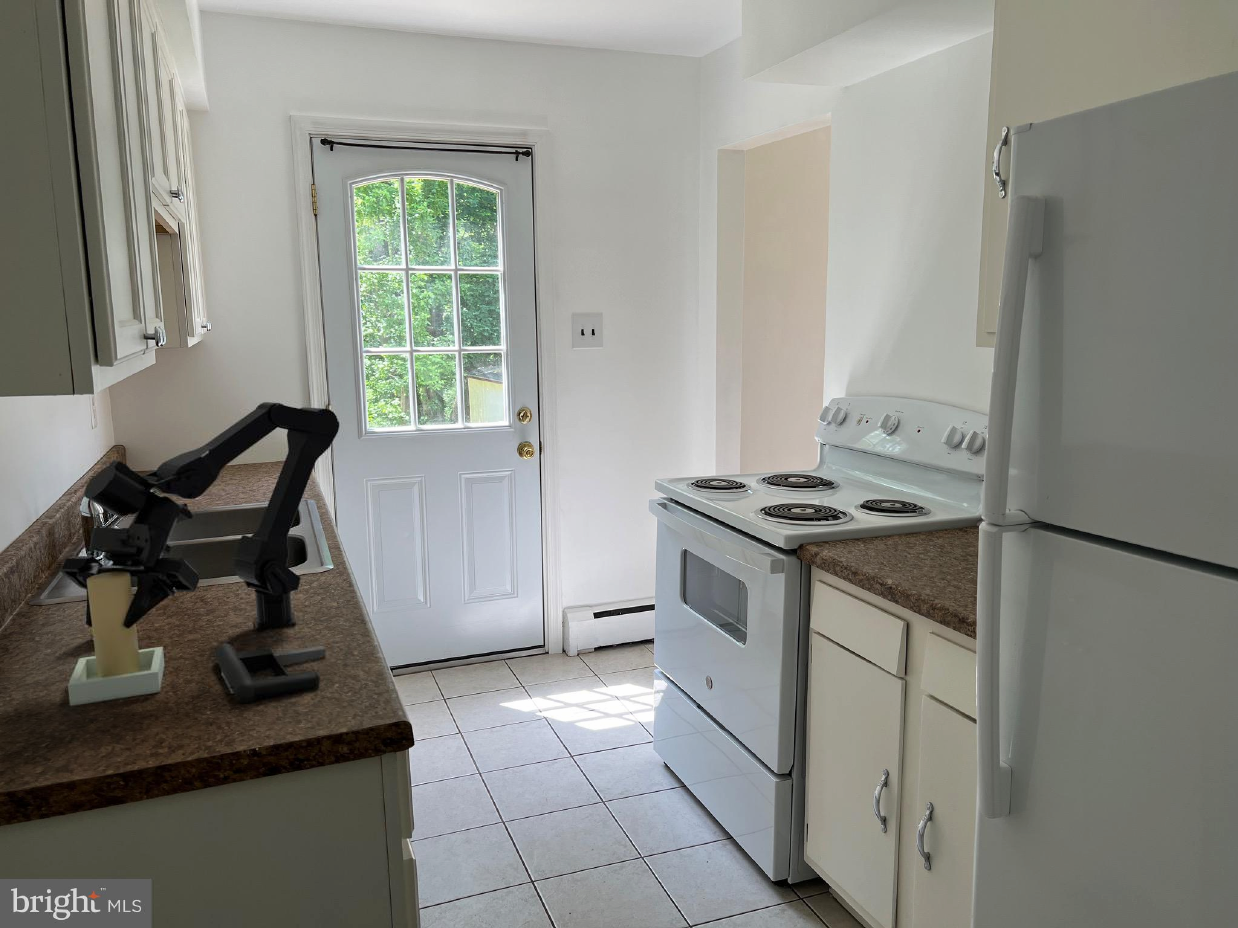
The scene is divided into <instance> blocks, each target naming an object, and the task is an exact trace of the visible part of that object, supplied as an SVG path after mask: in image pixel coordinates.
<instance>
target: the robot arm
mask: <svg viewBox="0 0 1238 928" xmlns="http://www.w3.org/2000/svg"><path fill="white" fill-rule="evenodd" d="M277 428H278V429H281V430H282V429H284V430H285V431H286V430H287V432H286V440H287V454H286V458H285V460H284V463H283V465H282V467H281V469H280V473H279V475H278V477H277V481H276V483H275V486H274V488H273V491H272V494H271V496H270V498H269V500H268V503H267V507H266V509H265V511H264V514H263V517H262V519H261V522H260V524H259V526H258V528H257V530H256V531H255V532H254V533H252V534H251V536H250V535H245V534H243V535H241V537H240V539H239V543H238V547H237V549H236V551H235V553H234V554H233V555H232V558H234V559H235V560H234V563H233V569H234V571H235V574H236V575H237V576H238V578H239V579H240V580H243V583H244V585H245V586H246V587H245V588H248V589H252V590H254V599H255V608H256V609H255V610H256V617H254V618H253V619H254V628H255V629H254V630H255V631H263V630H264V631H265V630H271V629H277V628H284V627H291V626H292V627H294V626H296V625H297V622H296V618H295V613H294V612H293V610H292V597H291V593H292V592H293V591H297V590H299V587H300V583H301V579H302V578H301V577H300V575H298V574H296V572H294V571H292V570H291V569H290V568H288V567H287V565H288V560H289V556H290V552H289V543H288V536H289V534H290V531H291V528H292V525H293V523H294V520H295V518H296V515H297V513H298V510H299V507H300V504H301V502H302V498H303V496H304V494H305V491H306V490H307V486H308V483H309V481H310V477H311V475H312V472H313V470H314V467H315V464H316V462H317V461H318V460H319V458H320V457H321V456H322V455H323V454H325V452H327V450H328V449H329V448H330V447H331V446H332V443H333V441H334V440H335V439H336V437H337V435H338V433H339V430H340V421H339V419H338V417H337V415H336V414H335V412H334V411H332V410H331V409H329V408H321V407H309V406H308V407H307V406H304V407H303V406H302V407H300V408H298V407H292V406H288V405H285V404H284V403H280V402H270V401H269V402H268V401H264V402H261V403H260V404H258V405H257V407H255V408H254V409H253V410H252V411H251V412H249V413H248V414H246V415H245V416H244V417H242V418H241V419H240V420H238V421H237V422H235V423H234V424H232V425H231V426H230V427H228V428H227V429H225V430H224V431H223V432H221V433H220V434H218V435H216V437H214V438H212V439H211V440H210V441H208V442H207V443H206V444H204V445H202V446H200V447H198V448H196V449H193V450H190V451H187V452H183V453H180V454H178V455H175V456H174V457H171V458H169V459H167V460H166V461H164V462H163V463H161V464H160V465H159V466H158V467H157V468H156V470H154V471H151V472H148V473H145V474H142V475H140V474H139V473H137V472H136V471H135V470H132V469H131V468H130V467H129V466H128V465H127V464H125V463H124V462H122V461H121V460H115V459H113V460H112V461H111V462H110V463H109V465H108V466H105V467H104V468H102V469H101V470H100V471H99V472H97V473H96V474H95V475H92V477H91V478H90V480H89V481H88V482H87V484H86V486H85V489H84V497H85V498H86V499H88V500H89V501H91V502H93V503H95V504H96V505H98V506H99V507H102V508H103V509H104V510H106V511H108V512H110V513H112V514H113V515H115V516H116V517H119V518H124V517H126V516H128V515H129V516H133V518H132V519H131V520H132V521H131V522H130V524H129V526H128V527H122V528H121V527H92V534H91V539H90V543H89V544H90V545H89V548H88V550H89V551H92V552H95V551H98V552H101V553H104V555H103V558H104V559H106V560H107V561H110V562H112V564H111V565H104V564H103V563H101V561H100V560H98V559H97V558H96V557H94V556H92V555H89V556H85V555H84V556H83V555H72V556H69V557H66V558H65V560H64V562H63V563H62V566H61V568H60V570H59V572H60V573H61V574H62V575H64V576H65V577H66V578H67V579H69V580H70V581H71V582H72V583H74V584H75V585H76V586H78V587H79V588H81V589H83V590H86V612H85V625H86V626H87V627H88V628H90V627H92V621H91V613H90V604H89V596H88V587H87V579H88V578H89V577H92V576H94V575H98V574H102V573H108V572H128V573H130V577H131V580H137V582H136V584H137V586H136V587H137V588H136V591H135V593H134V596H133V600H132V602H131V605H130V607H129V609H128V612H127V614H126V617H125V620H124V624H123V626H124V627H126V628H131V627H132V626H133V625H134V624H135V623H137V622H139V621H140V620H141V619H142V618H144V616H146V615H147V614H148V613H150V611H152V610H153V609H154V608H155V607H157V606H158V605H159V604H161V603H162V602H163V601H164V600H166V599H167V598H169V597H173V596H175V595H176V591H177V592H183V593H184V592H187V593H190V592H191V593H193V592H195V591H196V590H197V587H198V585H199V582H200V575H199V574H198V571H196V569H195V568H194V567H192V566H191V564H189V563H188V562H187V561H186V559H184V558H183V557H162V556H163V555H165V554H169V553H170V552H171V549H172V547H171V546H170V545H169V544H168V542H169V539H170V537H171V535H172V532H173V530H174V527H175V525H176V523H177V524H179V523H182V522H186V521H189V520H192V519H193V518H194V516H193V514H192V511H191V510H190V509H189V507H188V504H187V503H185V502H184V503H181V504H179V503H178V502H177V501H175V500H174V499H172V498H170V497H169V496H171V497H176V498H181V499H186V500H194V499H197V498H199V497H201V496H202V495H204V494H205V493H206V491H207V490H208V489H209V488H210V487H211V486H213V484H214V483H215V482H216V481H217V480H218V477H219V475H220V474H221V471H222V470H223V469H224V468H225V467H226V466H227V465H228V464H230V463H232V462H233V461H234V460H236V459H238V457H239V456H241V455H242V454H243V453H245V452H246V451H248V450H249V449H250V448H251V447H253V446H254V445H256V444H257V443H259V442H260V441H261V440H262V439H264V438H265V437H266V436H268V435H269V434H270V433H272V432H273V431H275V430H276V429H277ZM154 492H156V493H161V494H165V495H164V496H160V495H158V494H156V493H154ZM174 589H175V590H176V591H175V590H174Z"/></svg>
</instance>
